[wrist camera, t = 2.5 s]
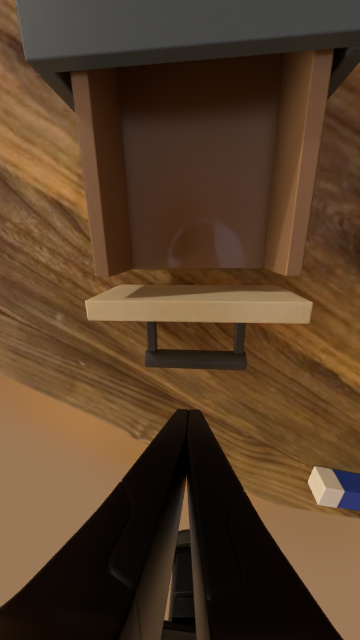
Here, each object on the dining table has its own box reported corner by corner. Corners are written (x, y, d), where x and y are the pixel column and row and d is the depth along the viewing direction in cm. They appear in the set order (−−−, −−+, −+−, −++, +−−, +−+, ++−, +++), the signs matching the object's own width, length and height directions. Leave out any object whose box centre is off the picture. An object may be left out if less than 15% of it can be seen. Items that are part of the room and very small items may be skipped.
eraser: (385, 478, 23) (404, 502, 21) (376, 494, 24) (393, 519, 22) (314, 465, 23) (325, 488, 21) (307, 481, 24) (317, 504, 22)
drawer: (270, 350, 19) (298, 392, 13) (125, 346, 20) (96, 383, 15) (316, -41, 12) (411, -280, 7) (91, -14, 13) (13, -201, 8)
